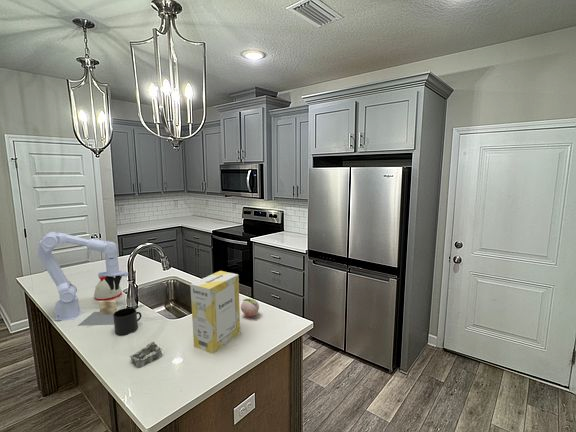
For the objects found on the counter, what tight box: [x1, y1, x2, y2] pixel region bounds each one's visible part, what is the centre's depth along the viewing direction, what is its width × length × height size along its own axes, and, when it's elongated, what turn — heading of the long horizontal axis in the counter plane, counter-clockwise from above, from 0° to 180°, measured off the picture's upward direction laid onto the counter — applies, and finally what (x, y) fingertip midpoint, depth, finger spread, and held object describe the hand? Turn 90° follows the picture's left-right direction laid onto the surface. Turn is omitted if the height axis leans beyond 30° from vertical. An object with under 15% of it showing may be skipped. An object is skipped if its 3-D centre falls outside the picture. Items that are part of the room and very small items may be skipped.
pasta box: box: [189, 270, 241, 355], centre depth 133 cm, size 18×10×28 cm, turn 151°
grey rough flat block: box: [129, 341, 163, 368], centre depth 122 cm, size 11×8×4 cm
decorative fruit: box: [240, 298, 260, 318], centre depth 154 cm, size 9×8×10 cm
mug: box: [113, 307, 142, 336], centre depth 143 cm, size 9×12×9 cm
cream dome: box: [93, 277, 123, 302], centre depth 178 cm, size 14×14×15 cm
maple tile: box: [98, 300, 118, 315], centre depth 157 cm, size 8×1×7 cm, turn 93°
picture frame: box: [77, 311, 114, 327], centre depth 153 cm, size 18×14×1 cm
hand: (114, 289), depth 163 cm, fingers closed
